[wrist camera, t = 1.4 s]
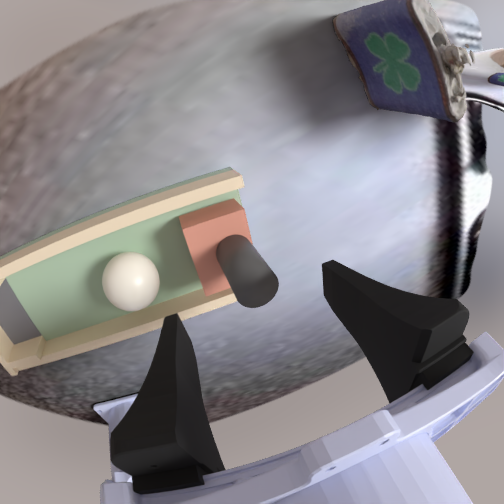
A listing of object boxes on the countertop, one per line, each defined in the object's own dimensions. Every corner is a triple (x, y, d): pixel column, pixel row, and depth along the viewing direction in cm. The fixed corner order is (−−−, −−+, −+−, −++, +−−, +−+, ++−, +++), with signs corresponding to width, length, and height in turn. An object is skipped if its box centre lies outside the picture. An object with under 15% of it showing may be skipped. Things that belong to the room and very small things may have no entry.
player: (249, 261, 24) (286, 315, 17) (199, 278, 23) (221, 340, 17) (233, 198, 21) (271, 237, 15) (178, 216, 20) (193, 265, 14)
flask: (325, 18, 18) (428, -11, 9) (350, 10, 18) (451, -14, 9) (372, 114, 23) (476, 134, 14) (393, 101, 23) (493, 117, 14)
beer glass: (446, 117, 25) (567, 151, 12) (417, 65, 22) (557, 81, 9) (468, 82, 24) (577, 106, 11) (442, 33, 21) (564, 41, 8)
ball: (165, 280, 22) (170, 312, 19) (118, 297, 22) (116, 330, 18) (146, 234, 20) (147, 260, 17) (96, 253, 20) (88, 281, 16)
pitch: (254, 270, 26) (269, 293, 23) (20, 350, 21) (11, 376, 18) (229, 167, 21) (244, 176, 18) (-31, 272, 17) (-48, 294, 14)
